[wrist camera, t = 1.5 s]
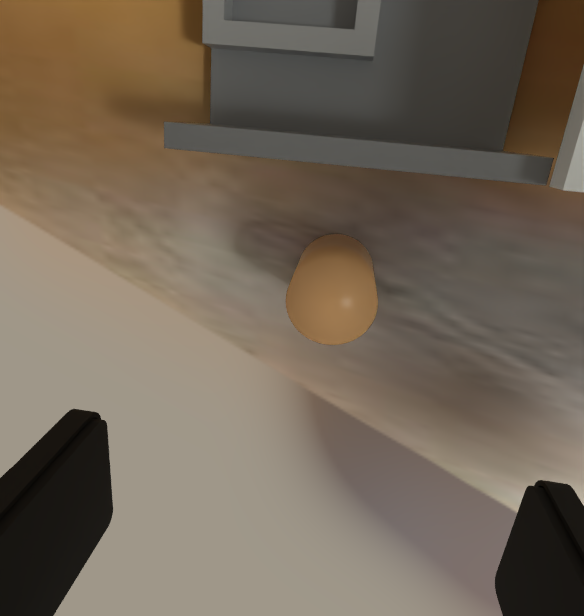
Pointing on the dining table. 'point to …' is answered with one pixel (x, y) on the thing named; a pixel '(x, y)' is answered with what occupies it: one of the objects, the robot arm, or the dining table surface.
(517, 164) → the housing
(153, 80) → the dining table surface
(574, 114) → the lid
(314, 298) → the tan egg-shaped pebble
